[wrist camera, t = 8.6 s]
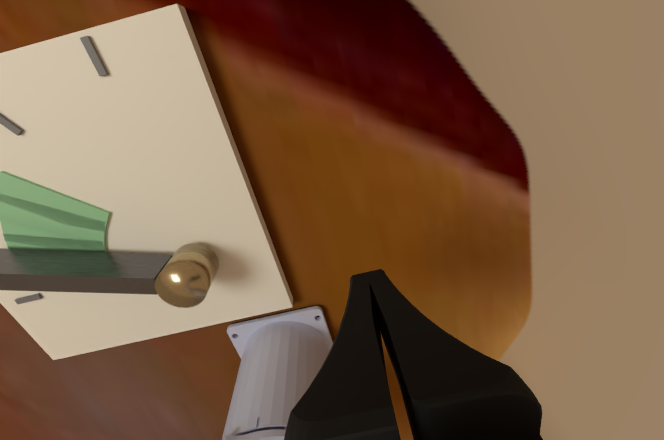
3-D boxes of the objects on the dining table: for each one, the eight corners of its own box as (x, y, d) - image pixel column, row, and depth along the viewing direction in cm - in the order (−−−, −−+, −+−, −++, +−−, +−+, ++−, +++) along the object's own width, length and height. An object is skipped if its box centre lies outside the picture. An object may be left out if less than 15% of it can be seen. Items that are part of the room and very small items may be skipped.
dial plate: (293, 298, 25) (292, 309, 24) (62, 349, 26) (51, 362, 25) (184, 7, 16) (175, 3, 15) (-158, 102, 17) (-189, 105, 16)
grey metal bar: (217, 244, 21) (204, 268, 18) (220, 280, 22) (208, 308, 20) (-12, 234, 20) (-59, 259, 17) (6, 274, 21) (-36, 302, 18)
